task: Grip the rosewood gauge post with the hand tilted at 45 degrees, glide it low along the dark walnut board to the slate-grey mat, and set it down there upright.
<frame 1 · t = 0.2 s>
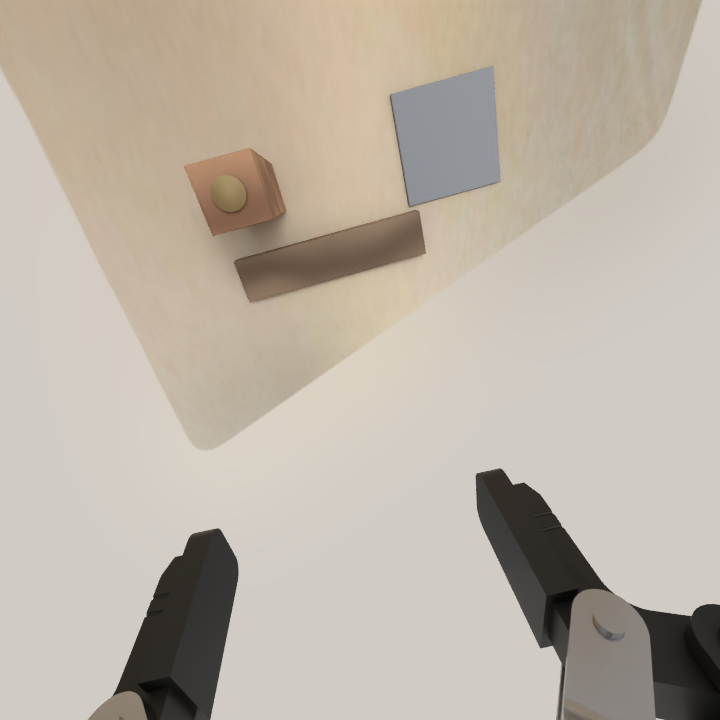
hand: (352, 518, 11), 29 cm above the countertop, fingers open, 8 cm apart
walnut board: (331, 255, 36), on the countertop
slate mat: (447, 141, 33), on the countertop
gauge post: (257, 193, 33), on the countertop
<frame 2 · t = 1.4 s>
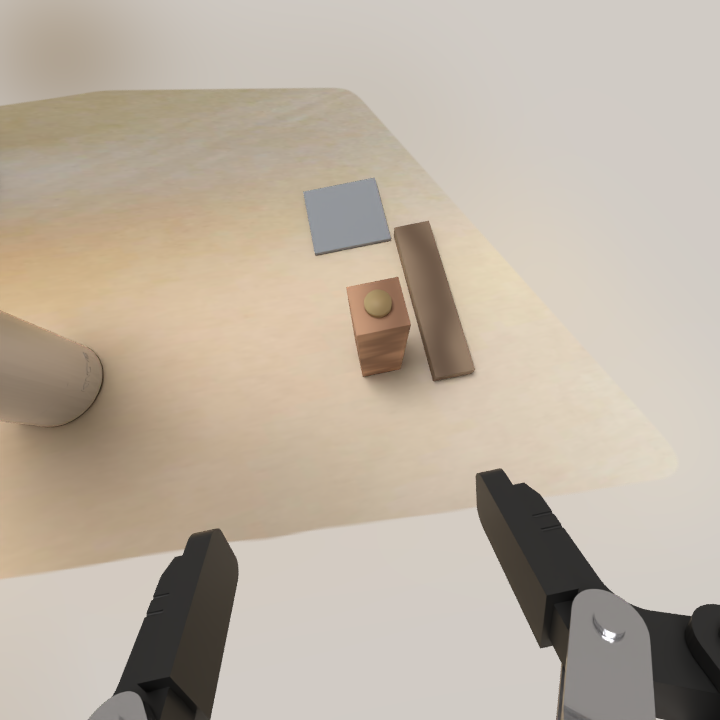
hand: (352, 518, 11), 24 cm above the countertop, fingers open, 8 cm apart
walnut board: (429, 300, 39), on the countertop
slate mat: (346, 216, 43), on the countertop
gauge post: (377, 355, 38), on the countertop
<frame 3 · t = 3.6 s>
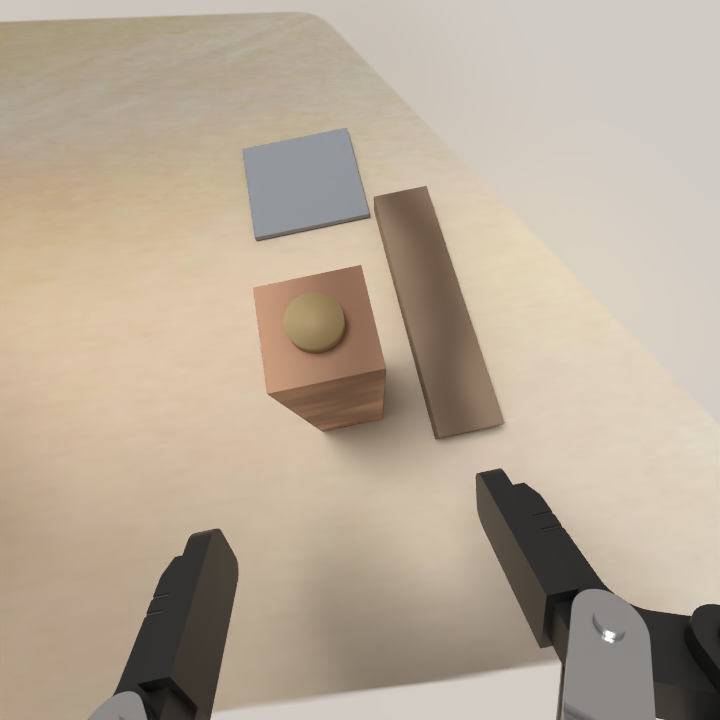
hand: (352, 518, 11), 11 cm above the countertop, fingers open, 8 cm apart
walnut board: (428, 307, 25), on the countertop
slate mat: (304, 183, 29), on the countertop
gauge post: (346, 395, 24), on the countertop
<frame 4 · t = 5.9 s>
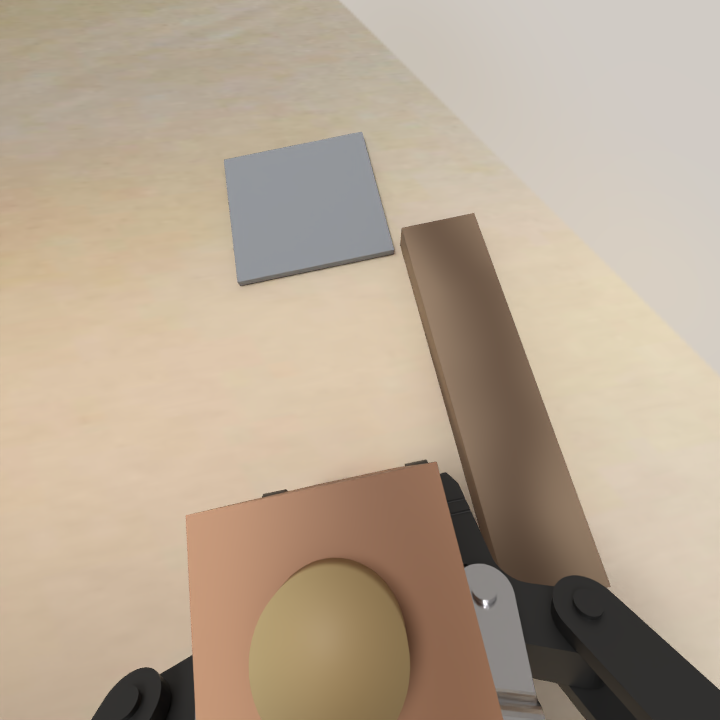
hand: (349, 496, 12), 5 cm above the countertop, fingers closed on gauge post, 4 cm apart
walnut board: (480, 385, 18), on the countertop
slate mat: (305, 206, 22), on the countertop
gauge post: (365, 520, 16), on the countertop, touching gripper
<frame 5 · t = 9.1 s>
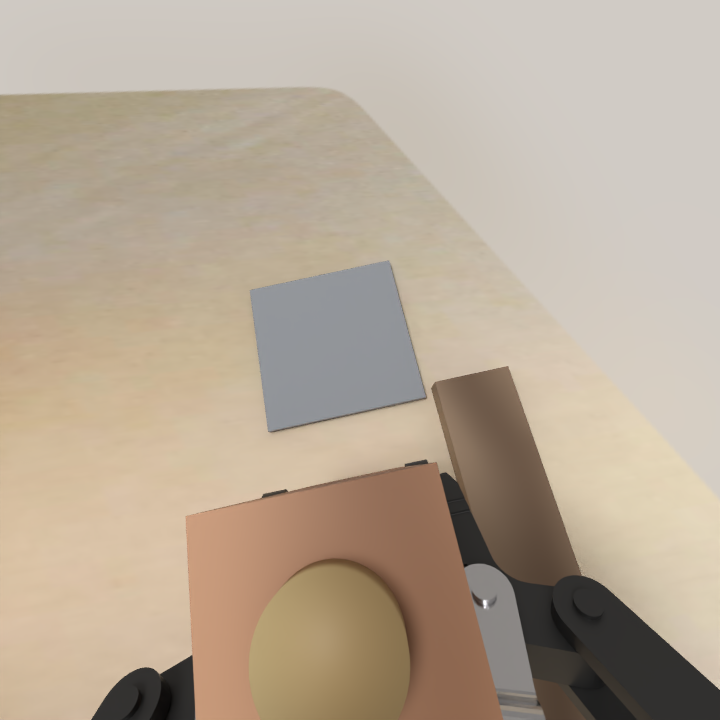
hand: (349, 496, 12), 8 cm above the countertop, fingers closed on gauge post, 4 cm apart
walnut board: (518, 551, 18), on the countertop
slate mat: (333, 342, 22), on the countertop
gauge post: (365, 521, 16), point 2 cm above the countertop, touching gripper
when the fingers open (7 cm above the countertop, at t = 12.4 s): gauge post stays where it is, resting on slate mat.
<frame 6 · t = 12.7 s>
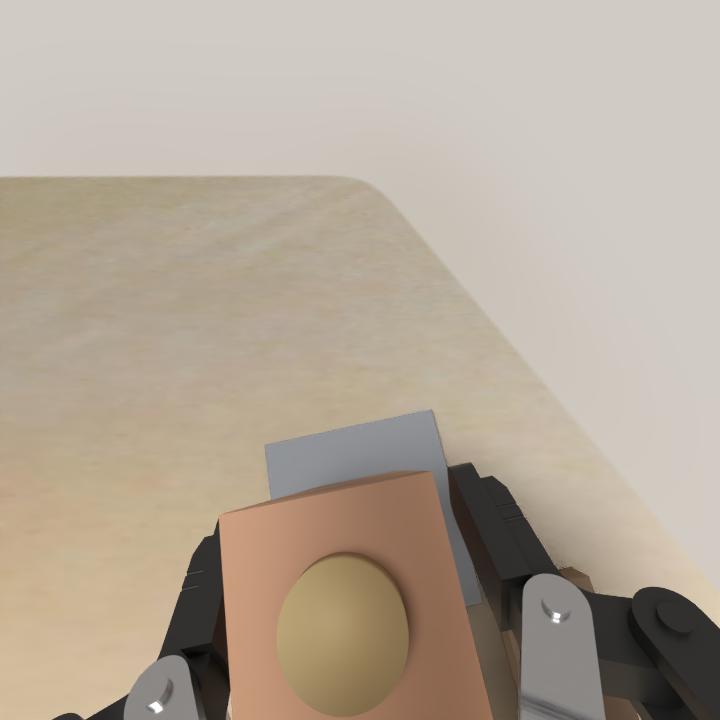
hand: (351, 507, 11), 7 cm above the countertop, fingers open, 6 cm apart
slate mat: (365, 517, 18), on the countertop
gauge post: (365, 520, 17), resting on slate mat
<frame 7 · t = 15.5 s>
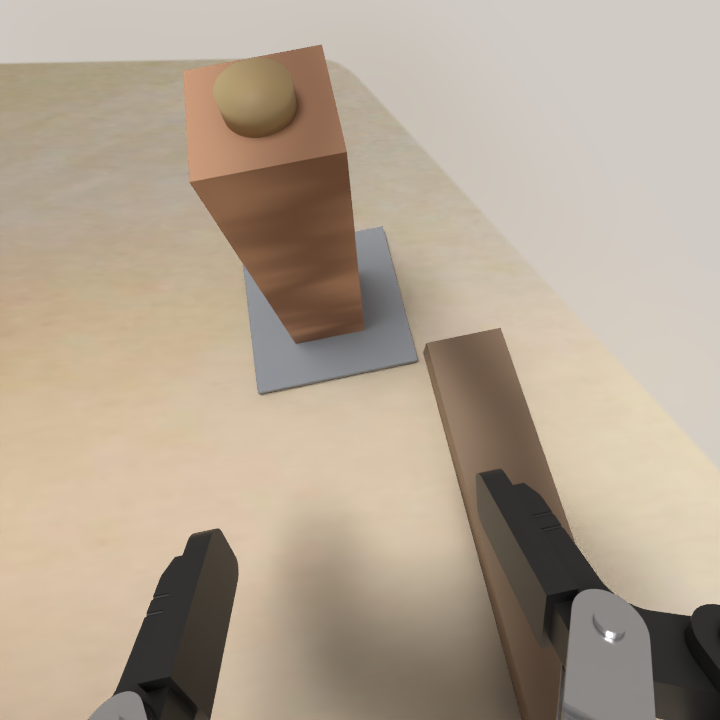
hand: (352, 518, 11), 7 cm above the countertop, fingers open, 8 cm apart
walnut board: (508, 512, 18), on the countertop
slate mat: (325, 307, 21), on the countertop
gauge post: (324, 306, 21), resting on slate mat
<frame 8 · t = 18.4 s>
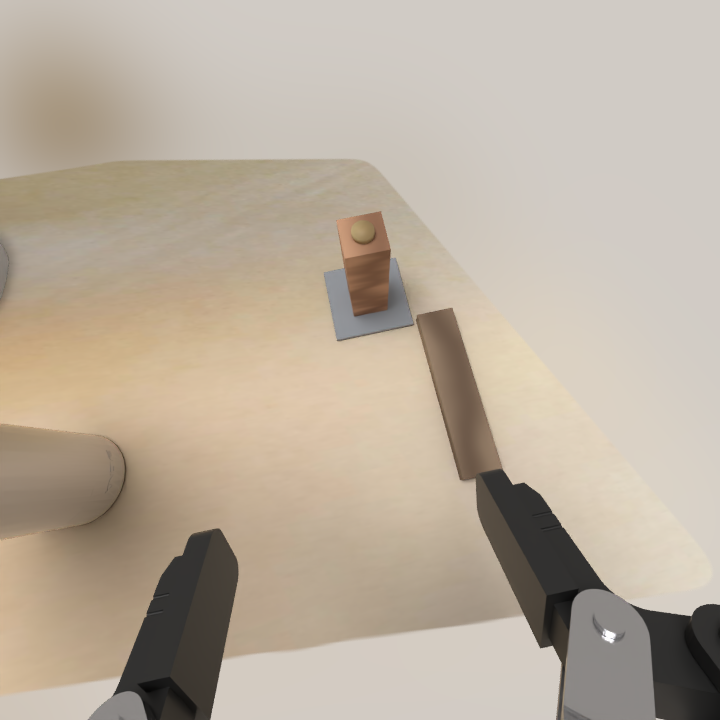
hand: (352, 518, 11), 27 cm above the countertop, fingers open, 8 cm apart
walnut board: (454, 390, 39), on the countertop
slate mat: (367, 298, 43), on the countertop
gauge post: (367, 298, 42), resting on slate mat
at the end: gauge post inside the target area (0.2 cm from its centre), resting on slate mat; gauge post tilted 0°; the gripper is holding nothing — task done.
